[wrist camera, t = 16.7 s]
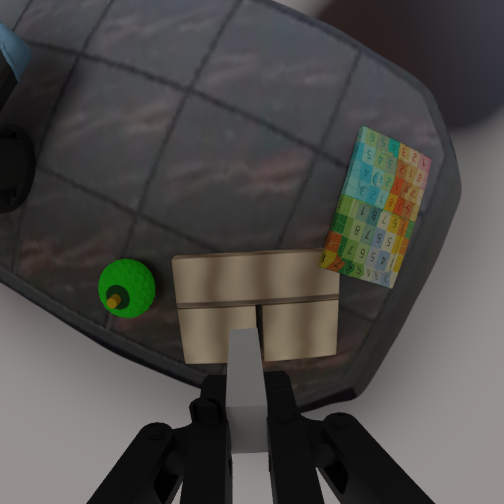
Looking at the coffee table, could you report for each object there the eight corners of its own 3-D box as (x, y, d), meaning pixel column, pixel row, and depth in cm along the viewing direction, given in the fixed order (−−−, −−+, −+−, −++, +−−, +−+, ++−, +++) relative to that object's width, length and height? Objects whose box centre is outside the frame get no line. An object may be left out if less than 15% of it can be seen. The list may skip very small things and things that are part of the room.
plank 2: (263, 354, 48) (264, 361, 46) (261, 300, 46) (262, 305, 44) (332, 348, 48) (335, 354, 46) (334, 295, 47) (338, 299, 45)
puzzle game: (434, 158, 38) (395, 290, 41) (418, 160, 43) (381, 282, 46) (366, 124, 37) (321, 269, 40) (353, 130, 42) (313, 261, 45)
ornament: (103, 263, 44) (73, 283, 35) (148, 245, 44) (125, 261, 34) (124, 311, 46) (101, 340, 36) (170, 295, 46) (153, 323, 36)
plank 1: (187, 356, 48) (185, 363, 46) (180, 303, 46) (177, 309, 44) (257, 353, 48) (258, 361, 46) (254, 300, 46) (255, 306, 44)
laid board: (180, 301, 46) (177, 308, 44) (175, 255, 45) (171, 259, 42) (334, 292, 47) (338, 298, 44) (335, 247, 45) (340, 250, 43)
